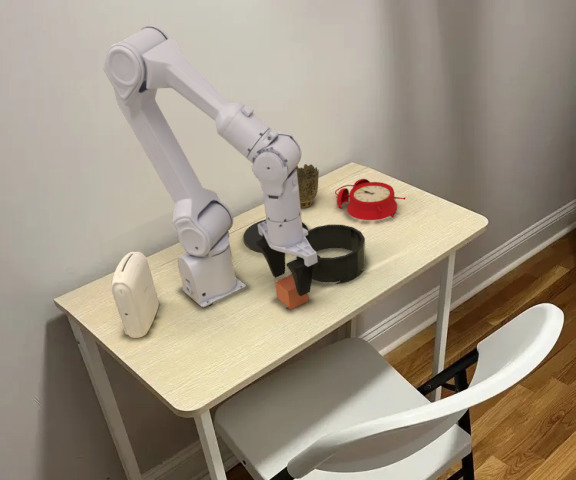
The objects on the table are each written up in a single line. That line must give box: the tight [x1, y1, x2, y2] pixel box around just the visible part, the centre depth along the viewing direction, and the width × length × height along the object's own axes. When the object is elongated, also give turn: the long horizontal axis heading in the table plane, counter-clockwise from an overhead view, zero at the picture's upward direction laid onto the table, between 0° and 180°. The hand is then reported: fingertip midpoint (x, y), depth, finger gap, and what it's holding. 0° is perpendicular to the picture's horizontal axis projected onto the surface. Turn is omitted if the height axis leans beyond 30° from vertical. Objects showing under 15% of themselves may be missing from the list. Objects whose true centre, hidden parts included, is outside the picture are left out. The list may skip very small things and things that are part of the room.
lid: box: [242, 218, 309, 254], centre depth 136 cm, size 13×13×5 cm
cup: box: [294, 163, 320, 209], centre depth 144 cm, size 8×7×8 cm
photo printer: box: [110, 251, 160, 339], centre depth 117 cm, size 10×4×12 cm, turn 172°
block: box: [274, 273, 309, 311], centre depth 120 cm, size 4×4×4 cm
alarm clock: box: [334, 178, 406, 221], centre depth 142 cm, size 10×6×15 cm
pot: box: [305, 224, 366, 285], centre depth 127 cm, size 12×12×5 cm
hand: (291, 284), depth 119 cm, fingers open, 7 cm apart
